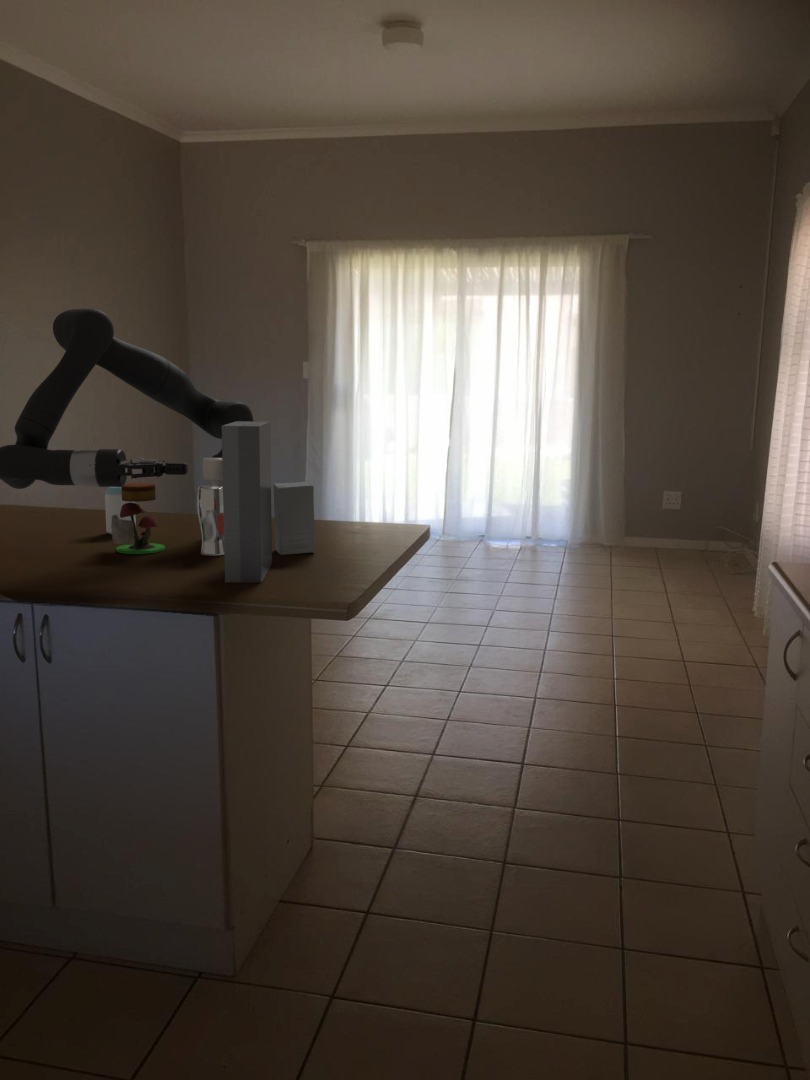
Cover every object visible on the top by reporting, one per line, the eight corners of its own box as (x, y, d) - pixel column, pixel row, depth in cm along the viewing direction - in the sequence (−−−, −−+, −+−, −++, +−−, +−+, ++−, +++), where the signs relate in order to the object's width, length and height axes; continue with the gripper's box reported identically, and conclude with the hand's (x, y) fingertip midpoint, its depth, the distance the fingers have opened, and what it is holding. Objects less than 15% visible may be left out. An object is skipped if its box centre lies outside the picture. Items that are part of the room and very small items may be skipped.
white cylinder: (202, 481, 174) (202, 458, 173) (206, 478, 178) (206, 456, 178) (228, 481, 174) (227, 459, 173) (231, 478, 179) (231, 457, 178)
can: (100, 534, 220) (98, 486, 218) (119, 530, 227) (117, 483, 225) (123, 536, 218) (121, 488, 216) (141, 532, 224) (140, 485, 222)
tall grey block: (225, 582, 171) (221, 425, 166) (239, 563, 189) (236, 421, 183) (261, 582, 171) (259, 426, 166) (272, 563, 189) (270, 421, 184)
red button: (217, 536, 176) (216, 514, 175) (221, 532, 180) (220, 511, 180) (242, 536, 176) (242, 514, 176) (245, 532, 181) (245, 511, 180)
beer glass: (203, 557, 194) (201, 489, 192) (195, 551, 200) (193, 485, 198) (234, 554, 198) (232, 488, 195) (225, 549, 204) (223, 484, 201)
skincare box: (309, 548, 206) (308, 480, 204) (316, 554, 200) (315, 484, 197) (273, 550, 204) (272, 481, 201) (278, 556, 197) (278, 485, 194)
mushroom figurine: (149, 543, 210) (146, 480, 208) (176, 550, 201) (174, 485, 199) (101, 549, 202) (98, 483, 199) (128, 557, 193) (125, 489, 191)
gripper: (87, 451, 168) (179, 452, 169) (107, 446, 181) (193, 447, 182) (89, 490, 169) (180, 491, 170) (109, 482, 182) (194, 483, 183)
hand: (187, 468), depth 176 cm, fingers closed
